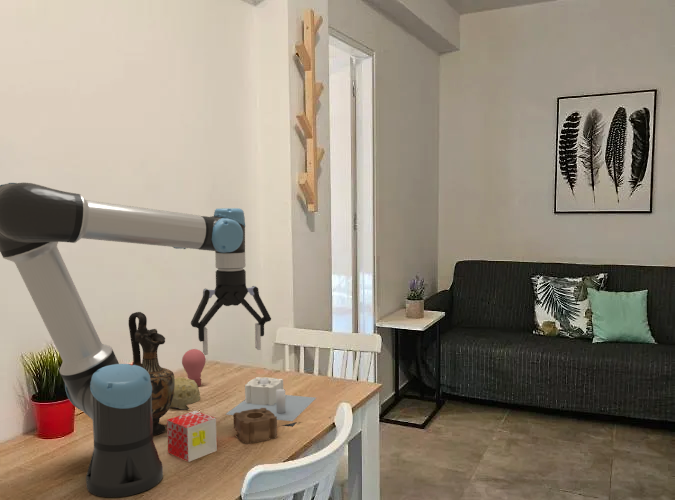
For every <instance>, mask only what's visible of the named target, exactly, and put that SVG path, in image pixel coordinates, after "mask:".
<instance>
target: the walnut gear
mask: <svg viewBox="0 0 675 500" xmlns="http://www.w3.org/2000/svg"><path fill="white" fill-rule="evenodd" d="M232 416H233V429H235V431H236V432H237V433H236V434H235V436H236V437H237V439H238V440H239V441H240V442H242V444H246V445H249V444H250V443H259V442H264V441H269V440H270V439H276V438H277V437H278V422H277V421H278V420H277V416H274V414H273V413H272V412H271V411H269V410H266V408H260V409H252V410H246V411H242V412H240V413H237V412H236V413H234V414H233V415H232Z"/></svg>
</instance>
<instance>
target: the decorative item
mask: <svg viewBox="0 0 675 500" xmlns="http://www.w3.org/2000/svg"><path fill="white" fill-rule="evenodd" d="M200 399H201V392H200V388H199V386H198V385H197V383H196V382H195V381H194V380H191V379H189V378H188V377H186V378H185V376H184V377H181V376H177V377H176V378H175V387H174V394H173V399H172V402H171V405H170V408H169V409H171V408H172V409H179V410H189V409H190V408H189V406H188V405H191V404H194V403H196V402H199V400H200Z"/></svg>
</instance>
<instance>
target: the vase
mask: <svg viewBox="0 0 675 500" xmlns="http://www.w3.org/2000/svg"><path fill="white" fill-rule="evenodd" d="M136 319H138V323H137V321H136ZM147 323H148V318H147V315H145V314H144V312H141V311H137V312H132V313H131V314H130V315H129V318H128V330H129V336H130V337H129V338H130V344H131V348H132V349H131V350H132V365H137V366H140V367H142V368H144V369H145V370H146V371H147V372H148V373H149V375H150V381H151V385H152V424H153V436H156V435H160V434H163V433H165V432H166V430H167V426H165V424H161V423H160V421H161V418H163V417H164V416H165V415H166V414H167V413H168V411H169V410H170V409H171V408H170V405H171V402H172V399H173V394H174V387H175V379H176V378H175V374H174V372H173V371H172V370H170V369H168V368H167V367H166V368H165V367H162V366H160V363H159V359H158V348H159V346H160V345H164V344H165V343H166V337H165V336H164V335H162V334H161V333H158V330H157V328H152V329H148V328H147ZM137 324H138V325H137ZM140 346H141V347H140ZM141 349H142V356H141ZM141 358H142V360H141Z"/></svg>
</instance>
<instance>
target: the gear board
mask: <svg viewBox="0 0 675 500" xmlns="http://www.w3.org/2000/svg"><path fill="white" fill-rule="evenodd" d="M268 378H269V377H267V378H263V377H260V384H269V381H268ZM316 399H317V397H313V396H301V395H290V394H286V389H284V388H283V389H277V390H276V403H274V405H270V406H269V405H258V404H252V403H246V402H245V399H244V400H242V401H241V402H240V403H238V404H237V405H236V406H235V407H233V408H231V410H229V411H228V412H226V413H225V415H228V416H233V414H234V413H236V412H237V413H240V412H242V411H246V410H252V409H260V408H266V410H269V411H271V412H272V413H273V414H274V416H277V421H284V422H285V421H286V422H292V423H286V424H281V425H280V426H282V427H289V426H292V427H291V428H294V426H295V425H297V423H298V422H294V421H295V420H296V419H297V417H298V416H299V415H301V414H302V413H303V412H304V411H305V410H306V409H307V408H308V407H309V406H310V405H311V404H312V403H313V402H314V401H316Z"/></svg>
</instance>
